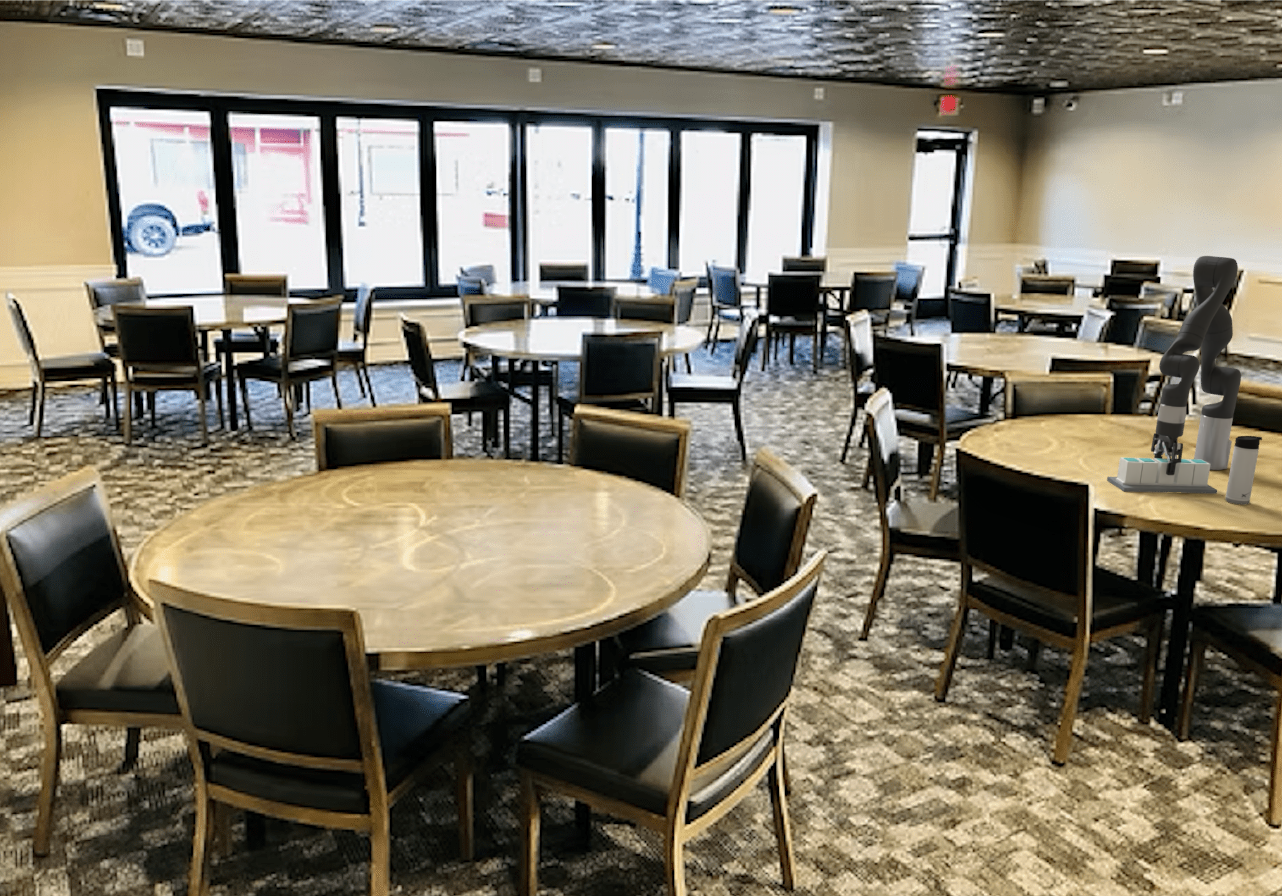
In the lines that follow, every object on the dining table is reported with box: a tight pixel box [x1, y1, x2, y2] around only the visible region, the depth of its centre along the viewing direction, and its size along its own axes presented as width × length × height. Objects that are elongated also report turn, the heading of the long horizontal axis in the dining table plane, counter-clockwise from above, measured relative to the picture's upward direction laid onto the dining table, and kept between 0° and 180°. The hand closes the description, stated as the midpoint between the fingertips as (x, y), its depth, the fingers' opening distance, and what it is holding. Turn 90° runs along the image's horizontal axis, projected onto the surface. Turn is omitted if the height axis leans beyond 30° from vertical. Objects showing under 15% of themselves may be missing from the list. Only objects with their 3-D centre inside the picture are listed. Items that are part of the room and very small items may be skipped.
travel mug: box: [1224, 435, 1263, 506], centre depth 307 cm, size 6×7×20 cm
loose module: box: [1152, 457, 1176, 484], centre depth 322 cm, size 4×6×7 cm
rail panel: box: [1106, 457, 1218, 495], centre depth 322 cm, size 28×12×8 cm, turn 90°
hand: (1163, 471), depth 322 cm, fingers open, 8 cm apart
